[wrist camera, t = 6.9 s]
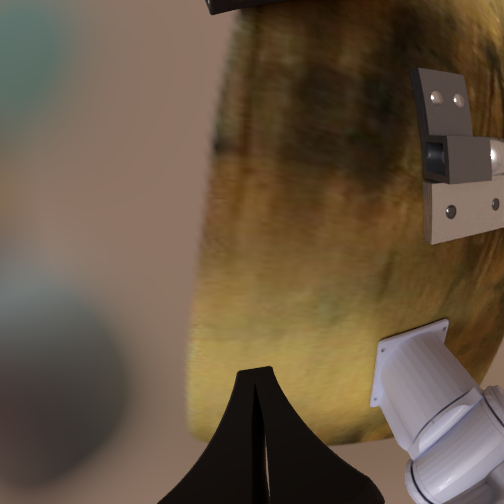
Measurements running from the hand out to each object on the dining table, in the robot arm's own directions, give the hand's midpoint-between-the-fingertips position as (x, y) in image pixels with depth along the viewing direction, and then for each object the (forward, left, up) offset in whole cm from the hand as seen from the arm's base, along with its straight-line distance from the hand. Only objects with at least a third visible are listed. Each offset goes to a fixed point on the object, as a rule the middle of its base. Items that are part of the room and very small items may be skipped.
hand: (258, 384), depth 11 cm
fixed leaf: (+5, -19, -10) cm, 22 cm away
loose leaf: (+9, -16, -10) cm, 21 cm away
